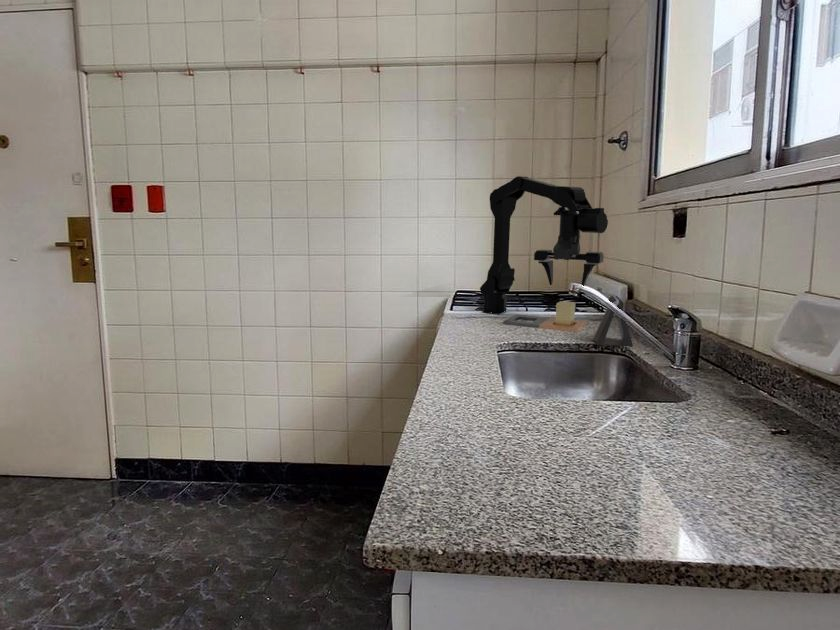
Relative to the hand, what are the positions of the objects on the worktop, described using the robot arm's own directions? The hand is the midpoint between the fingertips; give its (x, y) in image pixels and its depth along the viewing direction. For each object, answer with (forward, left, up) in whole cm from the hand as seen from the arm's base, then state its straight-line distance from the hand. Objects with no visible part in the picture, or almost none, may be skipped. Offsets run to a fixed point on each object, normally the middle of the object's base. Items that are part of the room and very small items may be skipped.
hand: (566, 286), depth 162 cm
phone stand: (+16, -14, -12) cm, 25 cm away
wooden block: (0, 0, -12) cm, 12 cm away
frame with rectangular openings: (-6, 0, -12) cm, 13 cm away
